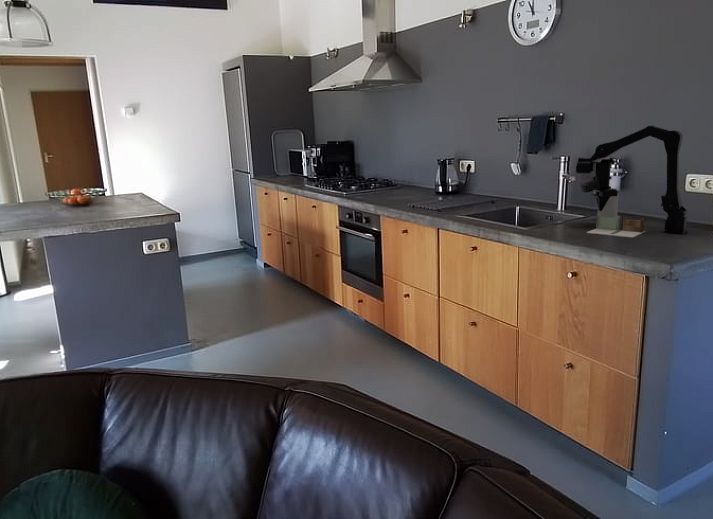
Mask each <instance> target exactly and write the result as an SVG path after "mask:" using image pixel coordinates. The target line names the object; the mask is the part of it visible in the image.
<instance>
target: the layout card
mask: <svg viewBox="0 0 713 519" xmlns="http://www.w3.org/2000/svg"><path fill="white" fill-rule="evenodd" d="M644 233H646V230H643V232H633V231H623V230H616V229H606V228H596V227H595V228H594V229H592V230H588V231H586V233H585V234H590V235H591V234H592V235H593V234H594V235H602V236H603V235H604V236H610V237H611V236H613V237H621V238H632V239H633V238H635V237H637V236H640V235H641V234H644Z"/></svg>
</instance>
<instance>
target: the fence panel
mask: <svg viewBox="0 0 713 519" xmlns="http://www.w3.org/2000/svg"><path fill="white" fill-rule="evenodd" d="M620 218H621V215H617V218H611V217H600V214H598V213H597V214H596V221H595V222H596V224H595V225H596V226H595V229H596V228H606V229H616V230H619V228H620Z"/></svg>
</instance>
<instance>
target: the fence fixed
mask: <svg viewBox="0 0 713 519" xmlns="http://www.w3.org/2000/svg"><path fill="white" fill-rule="evenodd" d="M644 226H645V218H644V217H641V218H640V220H639V219H631V218H629V219H628V216H623V217H621V216H620V227H619V230H623V231H633V232H643V231H645V230H644V228H645V227H644Z"/></svg>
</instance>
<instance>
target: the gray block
mask: <svg viewBox="0 0 713 519" xmlns="http://www.w3.org/2000/svg"><path fill="white" fill-rule="evenodd" d="M619 196H620V195H619V193H618V196H611V197H610V198H609V200H608V201H607V203H606V205H605V206H604V208H603V210H602V211H599V210H598V209H597V214H600V217H611V218H617V216H618V210H619Z"/></svg>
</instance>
